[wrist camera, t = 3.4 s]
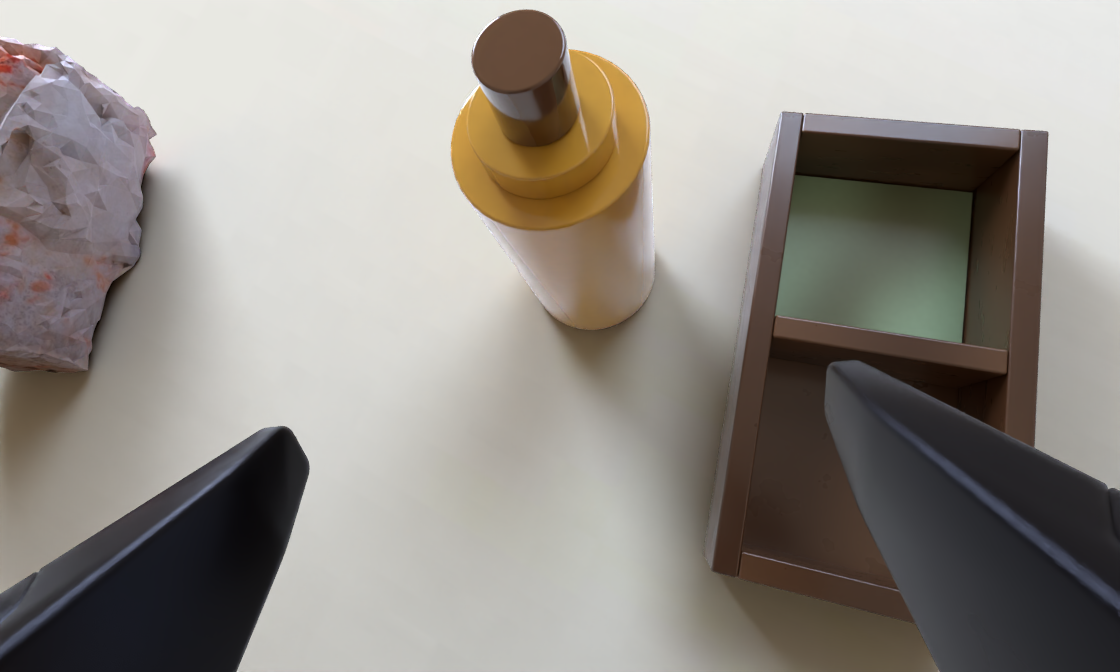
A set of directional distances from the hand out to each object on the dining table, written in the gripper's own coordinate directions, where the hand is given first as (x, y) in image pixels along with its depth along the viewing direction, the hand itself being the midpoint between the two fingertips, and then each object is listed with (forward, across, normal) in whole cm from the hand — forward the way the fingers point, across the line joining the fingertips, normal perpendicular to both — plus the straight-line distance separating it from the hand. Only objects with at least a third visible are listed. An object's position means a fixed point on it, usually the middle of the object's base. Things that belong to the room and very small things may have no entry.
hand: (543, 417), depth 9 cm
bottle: (+15, 0, +4) cm, 15 cm away
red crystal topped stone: (+19, +26, 0) cm, 32 cm away
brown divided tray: (+11, -9, +8) cm, 16 cm away
